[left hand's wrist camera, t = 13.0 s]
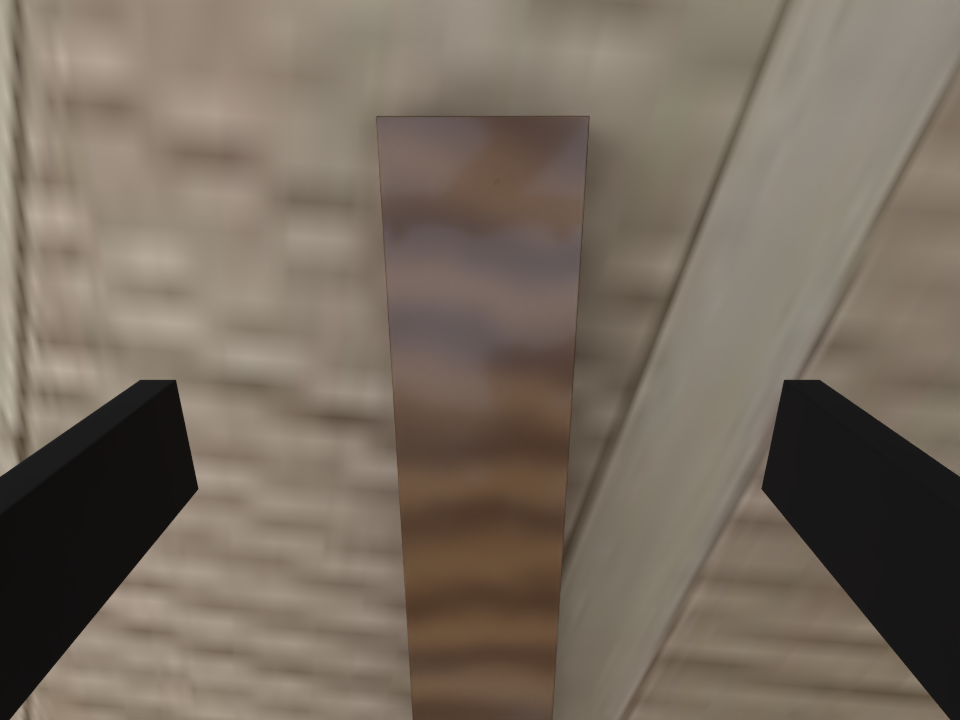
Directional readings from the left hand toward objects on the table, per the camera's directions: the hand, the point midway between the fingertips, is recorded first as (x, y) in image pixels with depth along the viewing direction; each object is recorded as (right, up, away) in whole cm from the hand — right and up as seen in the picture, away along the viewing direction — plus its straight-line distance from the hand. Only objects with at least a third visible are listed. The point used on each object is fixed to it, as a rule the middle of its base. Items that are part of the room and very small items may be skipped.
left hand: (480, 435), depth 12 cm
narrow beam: (0, -11, +30) cm, 32 cm away
